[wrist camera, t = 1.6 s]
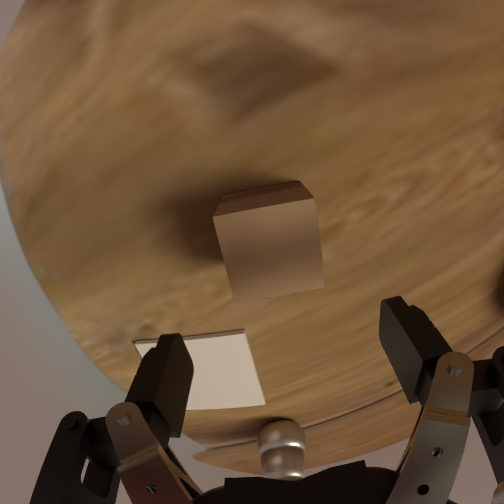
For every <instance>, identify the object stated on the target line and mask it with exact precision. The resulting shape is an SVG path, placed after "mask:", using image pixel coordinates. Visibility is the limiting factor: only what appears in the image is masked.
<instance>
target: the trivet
mask: <svg viewBox="0 0 504 504" xmlns="http://www.w3.org/2000/svg"><path fill="white" fill-rule="evenodd" d="M182 338H183V340H184V343H185V345H186V347H187V350H188V352H189V354H190V356H191V359H192V361H193V365H194V375H193V379H192V384H191V388H190V393H189V397H188V402H187V407H186V410H199V409H221V408H236V407H247V406H257V405H266V404H265V398H264V394H263V391H262V388H261V384H260V381H259V377H258V374H257V371H256V367H255V364H254V360H253V357H252V353H251V350H250V346H249V343H248V339H247V336H246V332H245V330H237V331H230V332H222V333H214V334H206V335H197V336H187V337H182ZM158 340H159V339H154V340H140V341H136V342H135V346H136V348H137V350H138V351H139V353H140V355H141V357H142V358H143V356H144V355H145V354H146V353H147V352H148V351H149V350H150V348H151V347H156V345H157V342H158Z"/></svg>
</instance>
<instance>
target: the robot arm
mask: <svg viewBox="0 0 504 504" xmlns="http://www.w3.org/2000/svg"><path fill="white" fill-rule="evenodd" d="M379 337H380V341H381V344H382V346H383V348H384V350H385V352H386V354H387V356H388V359H389V361H390V363H391V365H392V367H393V369H394V371H395V373H396V375H397V377H398V379H399V382H400V384H401V386H402V388H403V390H404V392H405V395H406V397H407V399H408V401H409V404H412V403H415V402H418V401H419V402H420V404H421V406H422V407H421V410H420V412H419V415H418V418H417V421H416V424H415V426H414V429H413V432H412V434H411V437H410V440H409V442H408V444H407V447H406V449H405V451H404V454H403V456H402V458H401V460H400V462H399V464H398V466H397V468H396V470H395V471H394V470H390V469H386V468H381V467H366V465H365V460H361V461H357V462H353V463H349V464H344V465H340V466H335V467H331V468H328V469H326V470H323V471H321V472H318V473H316V474H313V475H310V476H308V477H305V478H302V479H300V480H296V481H289V480H279V479H271V478H264V477H244V478H243V477H242V478H225V484H224V486H220V487H217V488H214V489H212V490H209V491H207V492H205V493H203V492H202V491H201V489H200V488H199V487H198V486H197V485H196V484H195V483H194V481H193V480H192V479H191V478H190V476H189V475H188V473H187V472H186V470H185V469H184V468H183V466H182V465H181V463H180V462H179V460H178V458H177V457H176V455H175V454H174V452H173V451H172V449H171V447H170V446H169V445H168V442H169V438H170V437H174V438H180V435H181V430H182V426H183V421H184V416H185V411H186V407H187V402H188V397H189V393H190V388H191V384H192V379H193V375H194V365H193V361H192V359H191V356H190V354H189V352H188V350H187V347H186V345H185V343H184V340H183V338H182V336H181V335H180V334H179V333H174V334H163V335H161V336H160V337H159V340H158V342H157V345H156V347H151V348H150V350H149V351H148V352H147V353H146V354H145V355H144V356H143V358H142V361H141V363H140V365H139V366H140V367H139V368H138V370H137V372H136V374H137V375H135V377H134V380H133V382H132V384H131V387H130V389H129V392H128V394H127V397H126V399H125V402H122V403H119V404H117V405H115V406H113V407H112V408H111V409H110V410H109V411H108V413H107V415H106V417H101V418H95V419H90V420H89V419H88V418H87V416H86V415H85V414H84V413H82V412H80V411H74V412H71V413H68V414H67V415H66V416H65V417H63V419H62V420H61V422H60V424H59V426H58V428H57V431H56V433H55V435H54V438H53V440H52V442H51V445H50V447H49V450H48V452H47V455H46V458H45V460H44V463H43V465H42V468H41V471H40V474H39V476H38V479H37V482H36V485H35V488H34V491H33V494H32V497H31V500H30V504H115V502H116V497H117V492H118V488H119V483H120V478H121V481H122V483H123V485H124V487H125V489H126V491H127V494H128V496H129V498H130V500H131V502H132V504H457V503H455V502H453V501H451V500H449V499H448V497H449V494H450V492H451V489H452V487H453V484H454V481H455V478H456V475H457V472H458V469H459V466H460V462H461V459H462V455H463V452H464V448H465V444H466V440H467V436H468V432H469V427H470V417H472V419H473V421H474V424H475V426H476V428H477V431H478V433H479V435H480V438H481V440H482V443H483V445H484V448H485V450H486V453H487V455H488V458H489V460H490V463H491V466H492V469H493V471H494V474H495V477H496V481H497V483H498V486H497V488H496V489H495V491H494V494H493V500H492V503H491V504H504V346H502V347H499V348H498V349H496V351H495V352H494V354H493V356H492V359H486V360H478V361H472V360H471V358H470V357H468V356H467V355H466V354H464V353H461V352H453V350H452V349H451V348H450V346H449V345H448V343H447V342H446V341H445V339H444V338H443V336H442V335H441V334H440V332H439V331H438V330H437V328H435V326H434V324H433V323H432V322H431V321H430V319H429V318H428V316H427V315H426V314H425V313H424V311H423V310H421V309H419V308H418V307H416V306H414V305H411V306H408V305H407V304H406V302H405V301H404V300H403V298H402V297H401V296H396V297H392V298H388V299H384V300H382V301H381V307H380V323H379ZM86 458H87V459H88V460H89V463H88V466H87V470H86V474H85V477H84V480H83V484H82V482H81V473H82V470H83V466H84V463H85V460H86Z"/></svg>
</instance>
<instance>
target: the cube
mask: <svg viewBox="0 0 504 504" xmlns="http://www.w3.org/2000/svg"><path fill="white" fill-rule="evenodd" d="M213 221H214V225H215V229H216V233H217V237H218V241H219V244H220V248H221V252H222V256H223V260H224V264H225V267H226V271H227V275H228V279H229V282H230V286H231V290H232V293H233V297H234V301H235V303H237V302H244V301H250V300H256V299H262V298H268V297H274V296H280V295H286V294H291V293H297V292H302V291H308V290H313V289H318V288H324V287H325V284H324V273H323V263H322V253H321V243H320V235H319V226H318V218H317V210H316V203H315V198H314V197H313V195H312V194H311V193H310V192H309V191H308V190H307V189H306V187H305V186H304V185H303V184H302V183H301V182H300V181H295V182H289V183H283V184H277V185H272V186H266V187H261V188H255V189H250V190H245V191H240V192H235V193H230V194H225V195H223V196H222V198H221V200H220V202H219V204H218V206H217V209H216V211H215V213H214V215H213Z"/></svg>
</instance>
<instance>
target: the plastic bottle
mask: <svg viewBox="0 0 504 504" xmlns="http://www.w3.org/2000/svg"><path fill="white" fill-rule="evenodd" d="M257 444H258V450H259V454H260V457H261V466H262V476H263V477H264V478H271V479H279V480H289V481H296V480H300V479H302V478H305V472H304V452H305V447H306V436H305V433H304V430H303V428H302V427H301V426H300V425H299V424H298V423H296V422H294V421H290V420H280V421H274V422H271V423H269V424H267V425H265V426H264V427H263V428H262V430H261V431H260V433H259V437H258V442H257Z"/></svg>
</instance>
